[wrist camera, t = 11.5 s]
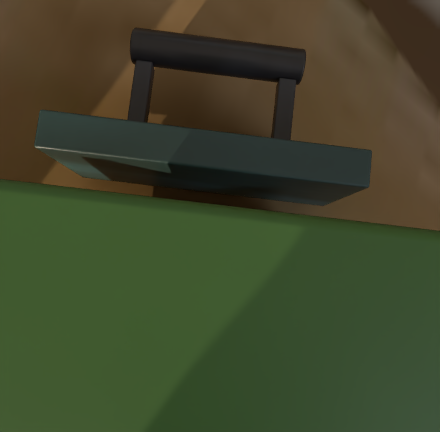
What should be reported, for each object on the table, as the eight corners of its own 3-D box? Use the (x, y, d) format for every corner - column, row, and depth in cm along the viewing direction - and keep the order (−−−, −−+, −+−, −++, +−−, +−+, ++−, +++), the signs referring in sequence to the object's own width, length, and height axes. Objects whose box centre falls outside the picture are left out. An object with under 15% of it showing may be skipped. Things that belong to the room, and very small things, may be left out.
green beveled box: (241, 370, 15) (468, 1119, 2) (122, 357, 15) (-450, 1061, 2) (254, 251, 15) (509, 238, 2) (138, 237, 15) (-238, 149, 2)
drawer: (99, 62, 17) (58, -10, 12) (334, 92, 17) (382, 32, 13) (39, 460, 15) (-34, 550, 11) (299, 486, 16) (338, 586, 11)
